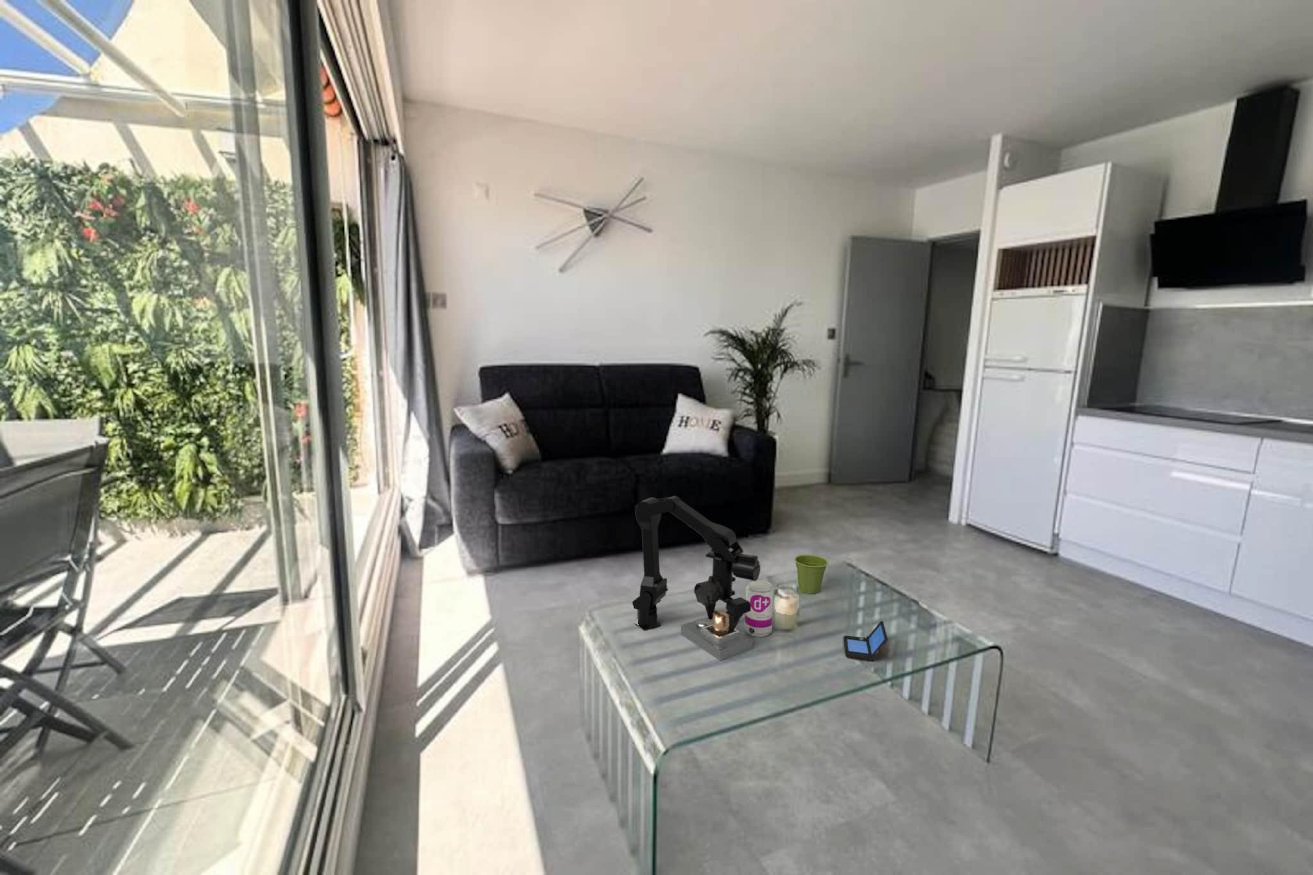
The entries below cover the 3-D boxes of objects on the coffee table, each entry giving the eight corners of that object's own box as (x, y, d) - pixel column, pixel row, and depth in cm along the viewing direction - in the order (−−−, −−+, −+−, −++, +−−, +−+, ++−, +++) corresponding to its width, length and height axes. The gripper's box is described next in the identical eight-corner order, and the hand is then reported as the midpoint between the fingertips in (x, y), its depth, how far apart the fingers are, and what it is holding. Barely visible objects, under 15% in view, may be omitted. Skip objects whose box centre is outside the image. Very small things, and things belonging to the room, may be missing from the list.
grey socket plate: (680, 634, 173) (681, 620, 173) (711, 624, 180) (712, 610, 179) (720, 660, 158) (720, 645, 158) (752, 648, 165) (752, 634, 165)
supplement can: (771, 639, 171) (773, 590, 169) (743, 636, 173) (745, 588, 171) (771, 626, 179) (773, 580, 177) (744, 624, 181) (746, 578, 179)
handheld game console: (842, 638, 173) (844, 614, 172) (881, 643, 170) (882, 619, 169) (844, 659, 161) (846, 633, 160) (886, 665, 158) (888, 639, 157)
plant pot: (793, 595, 203) (795, 564, 201) (791, 582, 214) (793, 553, 213) (828, 598, 201) (830, 567, 199) (824, 585, 213) (826, 555, 211)
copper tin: (709, 638, 168) (710, 612, 167) (721, 634, 170) (721, 608, 169) (719, 644, 164) (720, 618, 163) (731, 640, 167) (732, 614, 166)
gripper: (680, 568, 168) (679, 619, 170) (722, 590, 152) (720, 646, 155) (709, 561, 174) (708, 611, 176) (753, 582, 159) (751, 635, 161)
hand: (720, 625), depth 167 cm, fingers open, 9 cm apart
